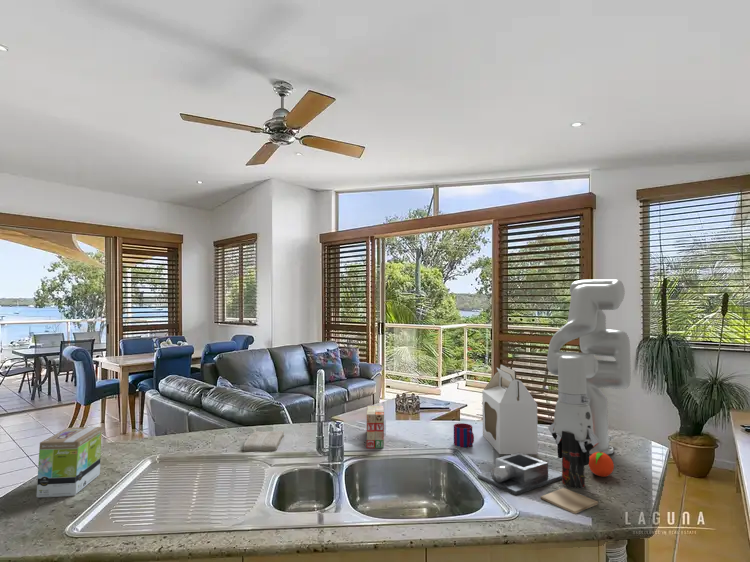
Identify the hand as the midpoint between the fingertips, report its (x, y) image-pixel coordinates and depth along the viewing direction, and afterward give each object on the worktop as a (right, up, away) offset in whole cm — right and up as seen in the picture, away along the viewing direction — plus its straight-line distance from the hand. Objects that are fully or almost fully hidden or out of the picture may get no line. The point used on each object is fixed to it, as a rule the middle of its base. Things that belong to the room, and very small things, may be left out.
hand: (573, 460), depth 129 cm
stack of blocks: (-57, -8, +41) cm, 71 cm away
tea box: (-144, -7, -2) cm, 144 cm away
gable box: (-8, -8, +35) cm, 37 cm away
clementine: (+11, -7, +5) cm, 14 cm away
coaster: (-6, -6, -11) cm, 14 cm away
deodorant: (0, -7, 0) cm, 7 cm away
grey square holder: (-13, -7, +4) cm, 16 cm away
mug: (-25, -8, +33) cm, 42 cm away
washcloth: (-98, -9, +36) cm, 104 cm away
